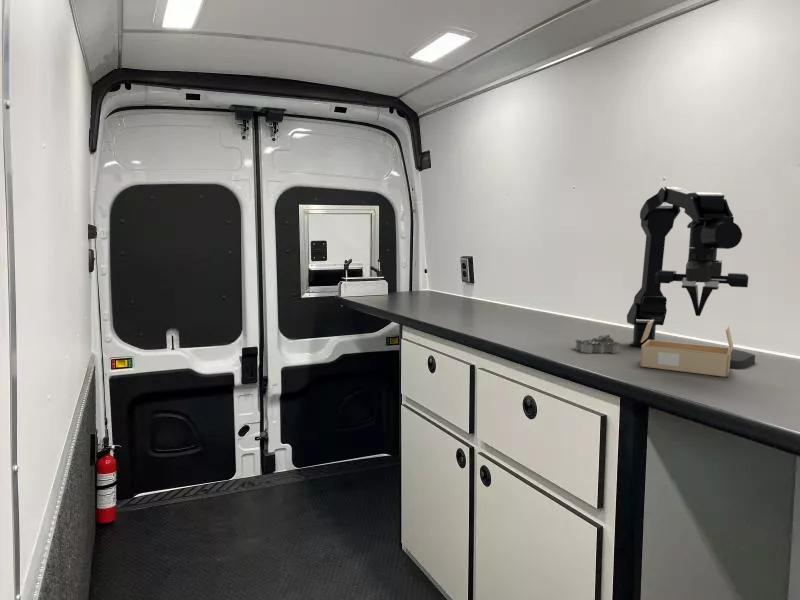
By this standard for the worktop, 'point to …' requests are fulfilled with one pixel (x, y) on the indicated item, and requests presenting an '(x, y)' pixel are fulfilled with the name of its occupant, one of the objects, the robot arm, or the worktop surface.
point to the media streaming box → (741, 359)
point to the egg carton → (598, 345)
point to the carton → (686, 357)
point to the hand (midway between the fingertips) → (697, 315)
